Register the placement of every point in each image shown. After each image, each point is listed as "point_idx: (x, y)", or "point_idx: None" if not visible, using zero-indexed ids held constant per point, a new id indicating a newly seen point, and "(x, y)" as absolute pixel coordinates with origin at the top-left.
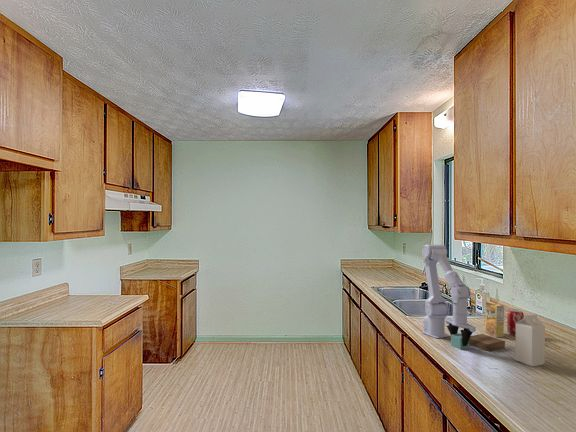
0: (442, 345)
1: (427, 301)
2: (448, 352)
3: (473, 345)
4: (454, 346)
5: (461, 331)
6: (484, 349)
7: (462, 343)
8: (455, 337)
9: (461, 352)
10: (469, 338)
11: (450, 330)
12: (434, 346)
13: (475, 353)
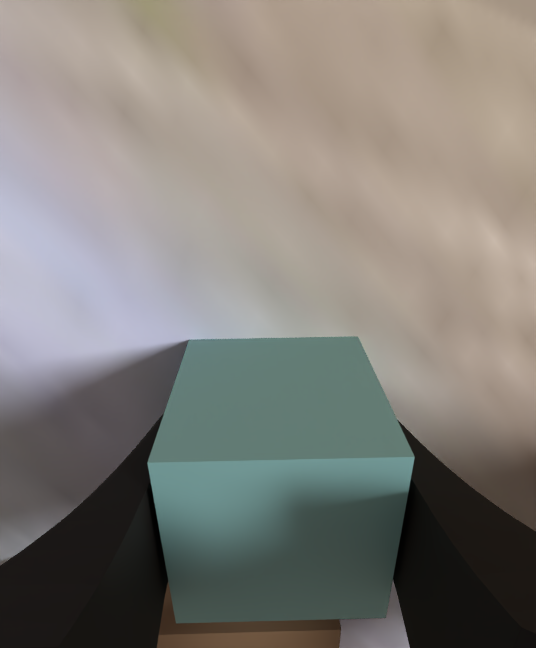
0: (435, 226)
1: None
2: (126, 20)
3: None
4: (294, 342)
5: (23, 640)
6: None
7: None
8: (286, 440)
9: (75, 256)
10: (286, 623)
11: (492, 550)
12: (486, 26)
13: (4, 399)
